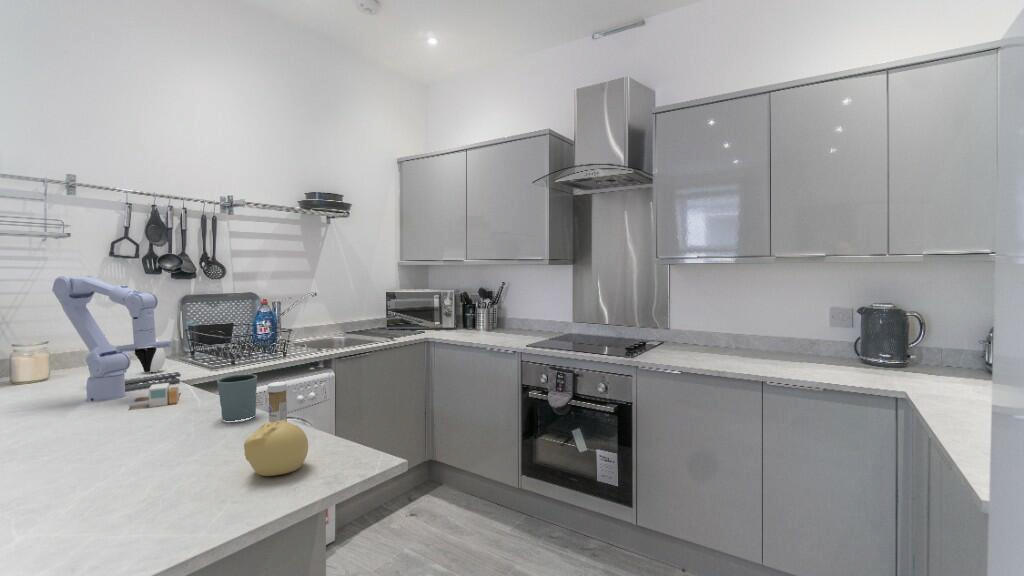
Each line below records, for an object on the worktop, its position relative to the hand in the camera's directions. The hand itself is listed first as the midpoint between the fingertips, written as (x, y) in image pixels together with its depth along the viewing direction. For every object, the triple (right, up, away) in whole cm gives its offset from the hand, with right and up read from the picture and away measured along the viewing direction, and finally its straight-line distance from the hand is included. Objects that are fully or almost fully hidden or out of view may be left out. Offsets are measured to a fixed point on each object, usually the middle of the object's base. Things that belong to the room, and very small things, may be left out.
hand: (147, 371), depth 155 cm
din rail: (+7, -9, -6) cm, 13 cm away
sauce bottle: (-33, -9, +46) cm, 57 cm away
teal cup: (+39, -11, -15) cm, 43 cm away
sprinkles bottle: (+57, -12, -28) cm, 64 cm away
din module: (+8, -9, -5) cm, 13 cm away
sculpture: (+68, -13, -51) cm, 86 cm away
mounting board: (+5, -11, -2) cm, 12 cm away
